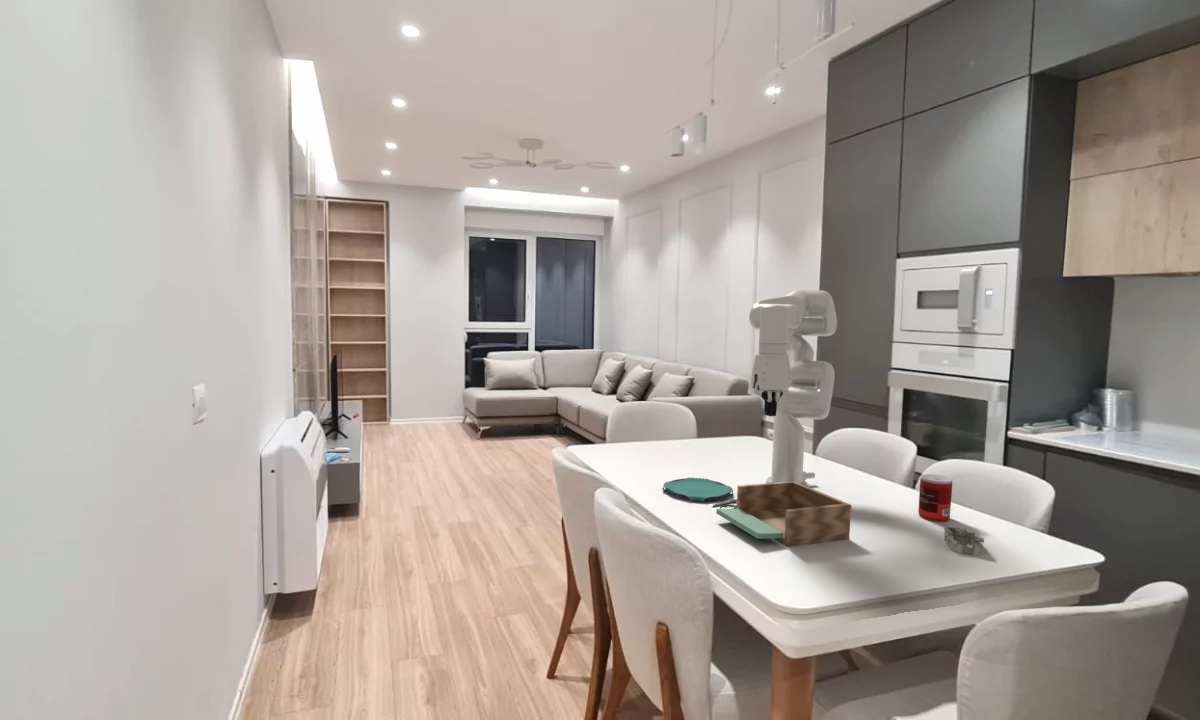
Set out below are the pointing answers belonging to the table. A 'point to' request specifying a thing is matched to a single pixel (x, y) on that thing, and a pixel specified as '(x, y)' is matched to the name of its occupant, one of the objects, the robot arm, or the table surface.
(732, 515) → the panel
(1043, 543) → the table surface
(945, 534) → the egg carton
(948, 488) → the canned food
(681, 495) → the teal flat rounded piece
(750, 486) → the crate
